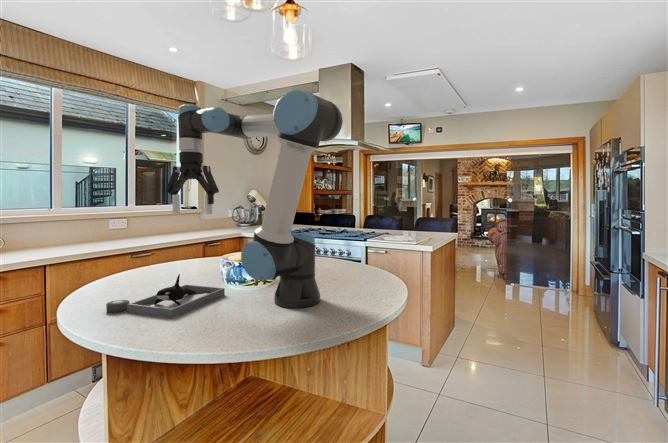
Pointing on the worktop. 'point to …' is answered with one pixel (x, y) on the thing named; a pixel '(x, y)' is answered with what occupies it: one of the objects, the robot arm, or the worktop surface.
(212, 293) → the frame
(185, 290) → the toy
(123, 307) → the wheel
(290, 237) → the robot arm
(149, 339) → the worktop surface
